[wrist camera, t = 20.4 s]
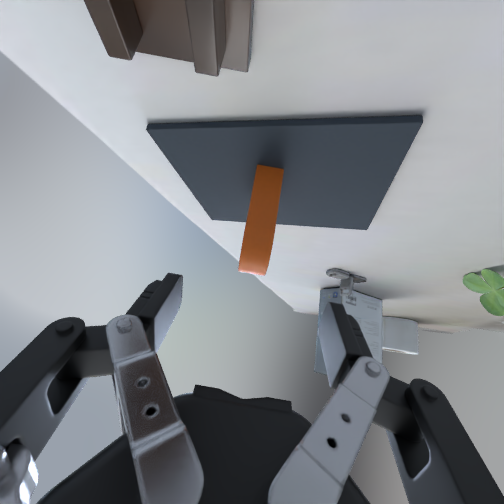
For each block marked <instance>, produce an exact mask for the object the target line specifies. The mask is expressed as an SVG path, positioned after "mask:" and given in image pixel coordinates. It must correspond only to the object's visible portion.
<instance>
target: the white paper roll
mask: <svg viewBox="0 0 504 504" xmlns="http://www.w3.org/2000/svg"><path fill="white" fill-rule="evenodd" d="M382 350H387V351H393V352H400V353H408V354H419V346H418V323H417V322H416V321H413V320H409V319H404V318H397V317H385V316H382Z"/></svg>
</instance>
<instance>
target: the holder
mask: <svg viewBox="0 0 504 504" xmlns="http://www.w3.org/2000/svg"><path fill="white" fill-rule="evenodd" d="M84 2H85V4H86V6H87V9H88V11H89V13H90V15H91V18H92V20H93V22H94V24H95V26H96V29H97V31H98V33H99V35H100V38H101V40H102V42H103V44H104V46H105V49H106V51H107V53H108V55H109V56H110V57H115V58H120V59H126V60H132V59H133V56H134V54H135V52H140V53H146V54H151V55H156V56H162V57H167V58H172V59H178V60H183V61H189V62H194V66H195V72H196V73H201V74H206V75H211V76H218V75H219V72H220V69H221V68H226V69H232V70H237V71H242V72H248V69H249V64H250V59H251V42H252V25H253V8H254V0H84Z"/></svg>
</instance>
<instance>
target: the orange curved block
mask: <svg viewBox="0 0 504 504" xmlns="http://www.w3.org/2000/svg"><path fill="white" fill-rule="evenodd" d="M283 173H284V169H280V168H274V167H269V166H263V165H257V168H256V174H255V179H254V184H253V189H252V195H251V200H250V205H249V210H248V216H247V221H246V226H245V231H244V237H243V243H242V249H241V255H240V261H239V269H238V271H239V272H245V273H251V274H256V275H262V276H265V274H266V271H267V268H268V264H269V260H270V255H271V250H272V245H273V239H274V233H275V226H276V220H277V213H278V206H279V200H280V193H281V186H282V179H283Z"/></svg>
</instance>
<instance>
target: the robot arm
mask: <svg viewBox="0 0 504 504" xmlns="http://www.w3.org/2000/svg"><path fill="white" fill-rule="evenodd" d="M182 286H183V276H182V275H178V274H173V273H168V274H167V275H166V276H165V278H164V279H163V280H162V281H159V280H156V281H154V282H152V283H151V284H149V285H148V286H147V288H146V289H145V290H144V292H143V293H142V294H141V295H140V297H139V298H138V299H137V300H136V301H135V303H134V304H133V305H132V307H131V308H130V309H129V310H128V312H127V313H126V314H125V315H121V316H118V317H115V318H114V319H112V320H111V321H110V322H109V323H108V324H107V325H103V326H89V327H85V323H84V321H83V320H82V319H80V318H76V317H68V318H63V319H59V320H57V321H55V322H53V323H51V324H50V325H48V326H47V327H46V328H45V329H44V330H43V331H42V332H41V333H40V334H39V335H38V336H37V337H36V338H35V339H34V340H33V341H32V342H31V343H30V344H29V345H28V346H27V347H26V348H25V349H24V350H23V351H21V353H19V354H18V356H17V357H15V358H14V359H13V360H12V361H11V362H10V363H9V364H8V365H7V366H6V367H5V368H4V369H3V370H2V371H1V372H0V504H29V502H30V499H31V496H32V494H33V492H34V490H35V487H36V485H37V482H38V470H37V467H36V465H35V460H36V459H37V457H38V456H39V454H40V453H41V451H42V450H43V448H44V447H45V445H46V444H47V442H48V440H49V439H50V437H51V436H52V434H53V433H54V431H55V430H56V428H57V427H58V425H59V424H60V422H61V421H62V419H63V418H64V416H65V414H66V413H67V411H68V410H69V408H70V407H71V405H72V404H73V402H74V401H75V399H76V398H77V396H78V394H79V393H80V392H81V390H82V388H83V387H84V385H85V384H86V382H87V381H88V379H89V378H90V377H97V376H106V375H112V380H113V386H114V391H115V396H116V401H117V407H118V413H119V419H120V425H121V432H122V436H120V437H119V438H118V439H116V440H115V441H114V442H112V443H111V444H110V445H108V446H107V447H106V448H104V449H103V450H102V451H101V452H99V453H98V454H97V455H95V456H94V457H93V458H92V459H90V460H89V461H87V462H86V463H85V464H84V465H82V466H81V467H80V468H79V469H77V470H76V471H74V472H73V473H72V474H71V475H69V476H68V477H67V478H65V479H64V480H63V481H62V482H60V483H59V484H57V485H56V486H55V487H54V488H52V489H51V490H50V491H49V492H48V493H46V495H44V496H43V497H42V498H41V499H40V500H39V501H38V502H37V503H36V504H370V503H369V501H368V500H367V498H366V497H365V496H364V494H363V493H362V492H361V490H360V489H359V487H358V486H357V485H356V483H355V482H354V480H353V479H352V478H351V476H350V475H349V473H350V470H351V468H352V466H353V464H354V462H355V459H356V457H357V455H358V453H359V450H360V448H361V446H362V444H363V441H364V439H365V437H366V434H367V432H368V430H369V428H370V426H371V423H374V424H376V425H378V426H380V427H382V428H384V429H386V432H387V435H388V438H389V442H390V445H391V447H392V451H393V454H394V457H395V460H396V463H397V467H398V470H399V473H400V476H401V479H402V483H403V485H404V488H405V492H406V495H407V498H408V501H409V504H504V496H503V494H502V493H501V491H500V489H499V487H498V486H497V484H496V482H495V480H494V479H493V478H492V475H491V474H490V472H489V470H488V469H487V467H486V465H485V463H484V462H483V460H482V458H481V457H480V455H479V453H478V451H477V450H476V448H475V446H474V444H473V443H472V441H471V439H470V438H469V436H468V434H467V432H466V431H465V429H464V427H463V426H462V424H461V422H460V420H459V419H458V417H457V416H456V413H455V412H454V410H453V408H452V407H451V405H450V403H449V401H448V400H447V398H446V397H445V395H444V394H443V393H442V391H441V390H439V389H438V388H437V387H436V386H435V385H433V384H432V383H430V382H428V381H426V380H423V379H413V380H412V381H411V383H410V384H407V383H405V382H402V381H400V380H398V379H395V378H393V377H391V376H390V375H389V372H388V370H387V369H386V368H385V367H384V366H383V364H382V363H380V362H379V361H377V360H376V359H374V358H373V356H372V354H371V351H370V349H369V347H368V344H367V342H366V340H365V338H364V335H363V333H362V331H361V328H360V326H359V324H358V322H357V321H356V320H355V318H354V317H353V316H352V315H349V314H347V313H346V310H345V308H344V305H343V304H340V303H334V302H328V303H327V304H326V307H325V310H324V312H323V315H322V318H321V321H320V323H319V338H320V343H321V347H322V352H323V356H324V361H325V365H326V370H327V374H328V379H329V383H330V388H332V389H336V390H335V391H334V393H333V394H332V396H331V397H330V399H329V400H328V402H327V403H326V404H325V406H324V408H323V409H322V411H321V412H320V413H319V415H318V416H317V418H316V420H315V421H314V422H313V424H311V423H310V422H309V421H308V420H307V419H305V418H304V417H303V416H302V415H300V414H298V413H297V412H295V411H293V410H292V406H291V401H286V400H281V399H274V398H269V397H265V398H252V399H241V398H239V397H237V396H234V395H232V394H229V393H227V392H225V391H223V390H221V389H218V388H212V387H206V386H201V385H195V388H194V391H193V393H186V394H182V395H179V396H176V397H174V398H173V396H172V394H171V391H170V388H169V386H168V383H167V380H166V378H165V375H164V372H163V370H162V367H161V364H160V362H159V359H158V356H157V354H156V353H157V351H158V349H159V347H160V345H161V343H162V341H163V340H164V338H165V336H166V334H167V332H168V330H169V327H170V326H171V324H172V322H173V320H174V318H175V316H176V314H177V312H178V310H179V308H180V305H181V301H182Z"/></svg>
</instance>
